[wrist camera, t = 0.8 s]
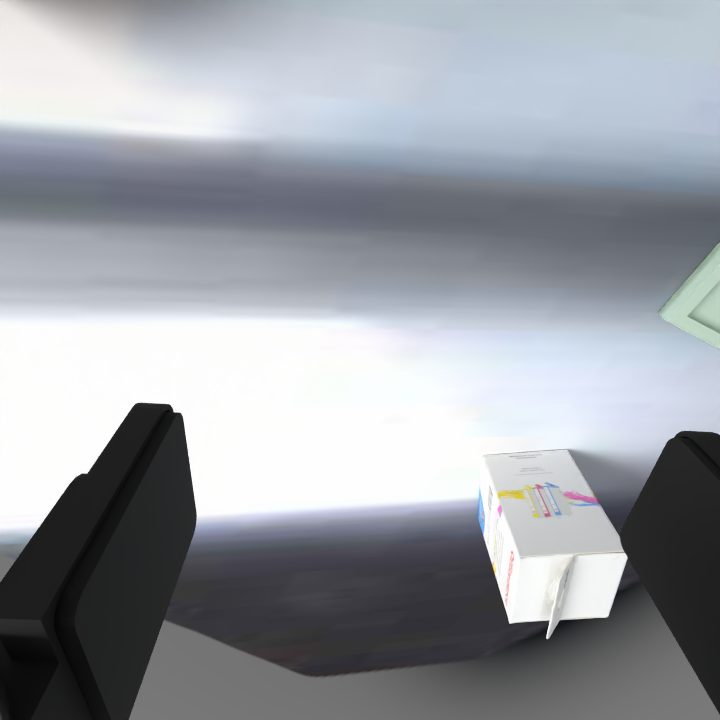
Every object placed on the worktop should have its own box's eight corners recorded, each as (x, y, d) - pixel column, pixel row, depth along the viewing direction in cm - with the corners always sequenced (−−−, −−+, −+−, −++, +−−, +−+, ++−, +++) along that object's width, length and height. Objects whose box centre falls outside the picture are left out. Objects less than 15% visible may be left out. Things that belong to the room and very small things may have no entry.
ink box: (556, 510, 49) (621, 641, 37) (476, 516, 49) (515, 648, 38) (568, 446, 45) (645, 572, 33) (480, 453, 45) (525, 580, 33)
